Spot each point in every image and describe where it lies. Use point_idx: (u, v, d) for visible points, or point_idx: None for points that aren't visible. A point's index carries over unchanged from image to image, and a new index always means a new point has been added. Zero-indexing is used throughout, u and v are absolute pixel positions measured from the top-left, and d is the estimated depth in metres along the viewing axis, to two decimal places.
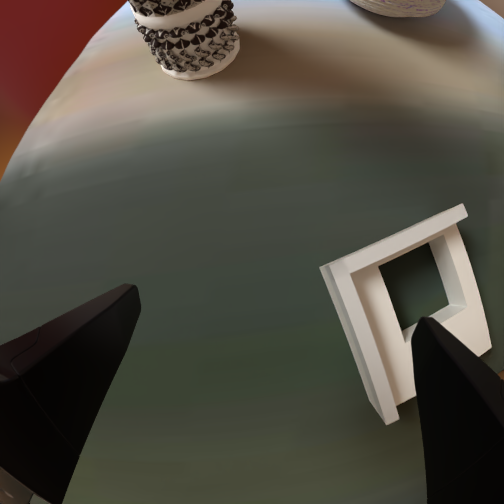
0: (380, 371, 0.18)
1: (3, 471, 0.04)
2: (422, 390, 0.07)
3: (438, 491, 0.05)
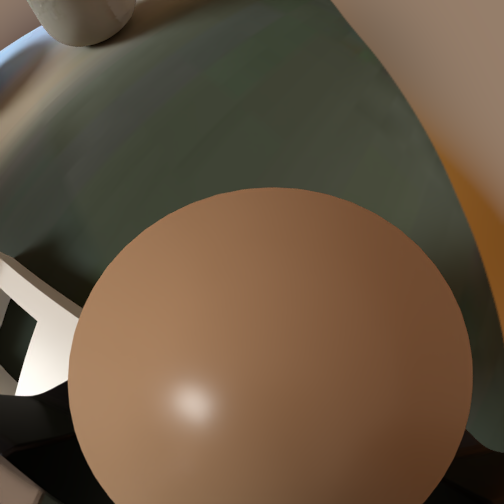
0: None
1: None
2: None
3: None
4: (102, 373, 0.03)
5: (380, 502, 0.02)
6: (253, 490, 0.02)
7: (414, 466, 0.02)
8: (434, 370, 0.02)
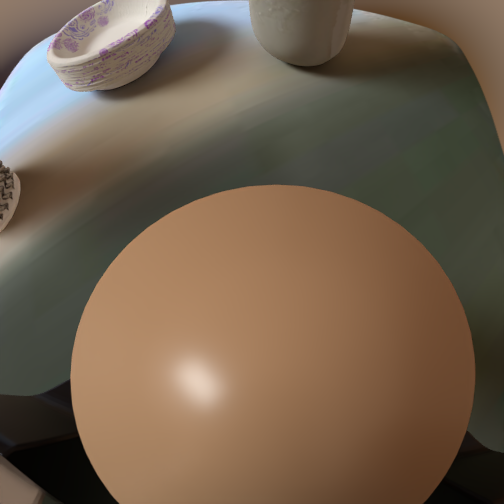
0: None
1: None
2: None
3: None
4: (105, 370, 0.03)
5: (384, 499, 0.02)
6: (256, 488, 0.02)
7: (417, 463, 0.02)
8: (437, 366, 0.02)
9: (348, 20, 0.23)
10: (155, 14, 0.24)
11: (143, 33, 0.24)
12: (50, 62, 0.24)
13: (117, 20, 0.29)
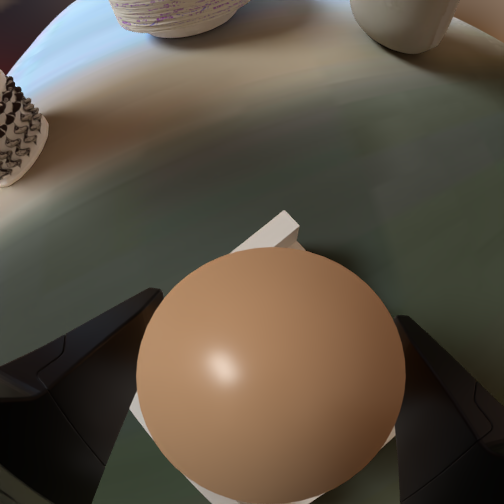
0: None
1: (29, 489, 0.04)
2: None
3: (410, 496, 0.05)
4: (163, 367, 0.04)
5: (342, 451, 0.04)
6: (260, 439, 0.04)
7: (364, 428, 0.04)
8: (376, 365, 0.04)
9: (453, 14, 0.17)
10: None
11: None
12: None
13: None
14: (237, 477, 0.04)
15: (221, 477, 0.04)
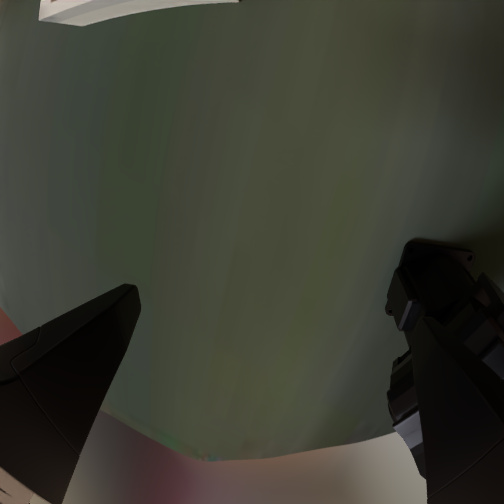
0: None
1: (3, 471, 0.04)
2: (422, 390, 0.07)
3: (437, 490, 0.05)
4: None
5: None
6: None
7: None
8: None
9: None
10: None
11: None
12: None
13: None
14: None
15: None
